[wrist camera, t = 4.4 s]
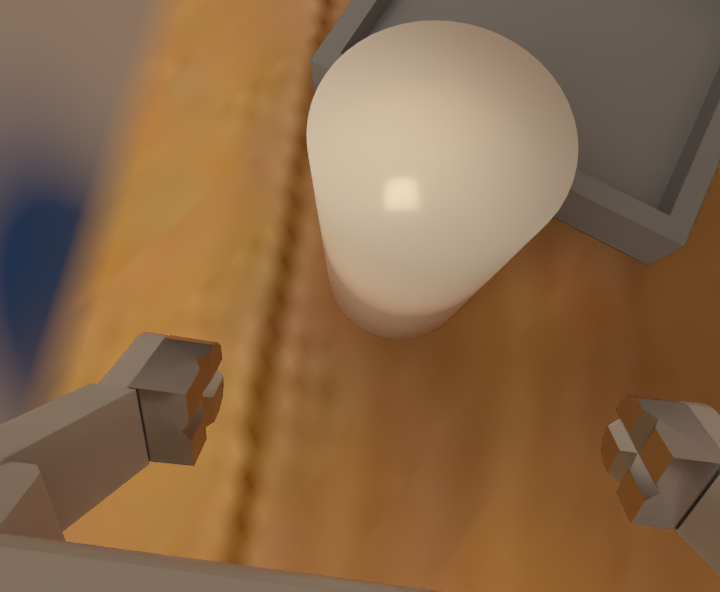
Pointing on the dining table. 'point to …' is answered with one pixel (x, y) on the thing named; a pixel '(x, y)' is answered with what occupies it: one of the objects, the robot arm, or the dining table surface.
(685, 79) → the serving tray
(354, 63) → the cream capsule shape
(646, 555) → the dining table surface
